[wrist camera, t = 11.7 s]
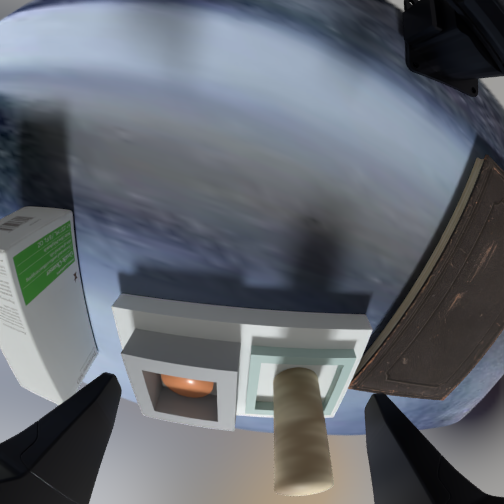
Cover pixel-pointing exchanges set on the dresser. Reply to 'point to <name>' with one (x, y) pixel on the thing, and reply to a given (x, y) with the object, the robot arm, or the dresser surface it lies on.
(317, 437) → the beige cylindrical rod
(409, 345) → the hardcover book
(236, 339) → the panel
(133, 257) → the dresser surface
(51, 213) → the skincare box
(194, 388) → the button
